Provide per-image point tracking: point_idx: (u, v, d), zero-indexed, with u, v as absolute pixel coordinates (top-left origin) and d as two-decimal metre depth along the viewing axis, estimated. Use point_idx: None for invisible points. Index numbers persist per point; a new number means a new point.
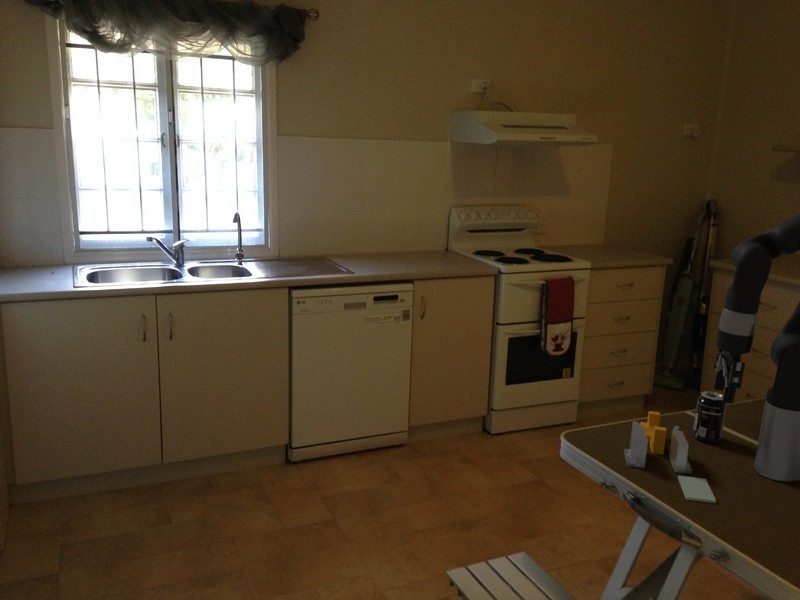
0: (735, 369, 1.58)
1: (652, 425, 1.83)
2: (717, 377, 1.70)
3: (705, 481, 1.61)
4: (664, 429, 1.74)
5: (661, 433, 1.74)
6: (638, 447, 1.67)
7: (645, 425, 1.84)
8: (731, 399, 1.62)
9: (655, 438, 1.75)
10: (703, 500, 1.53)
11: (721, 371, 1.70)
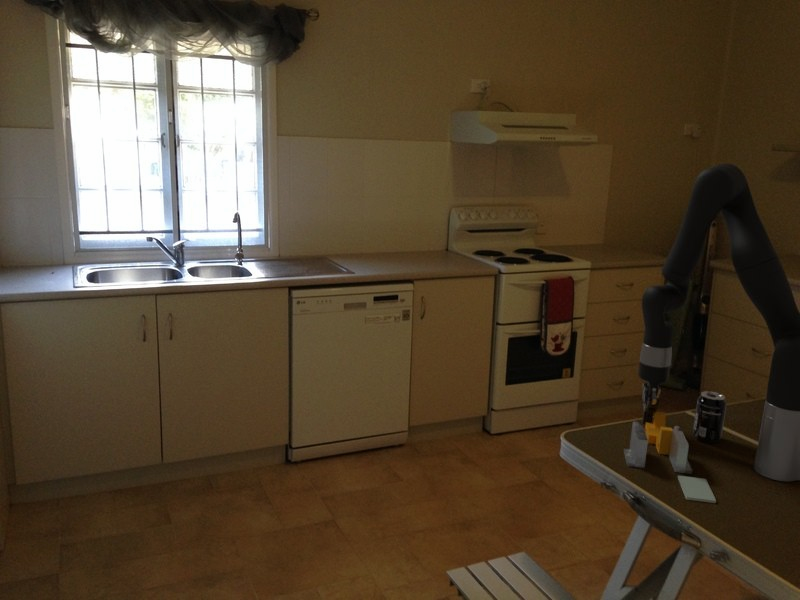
0: (651, 404, 1.81)
1: (658, 426, 1.83)
2: None
3: (705, 481, 1.61)
4: (670, 429, 1.74)
5: (667, 433, 1.74)
6: (638, 447, 1.67)
7: (651, 426, 1.84)
8: (649, 421, 1.87)
9: (661, 438, 1.75)
10: (703, 500, 1.53)
11: None
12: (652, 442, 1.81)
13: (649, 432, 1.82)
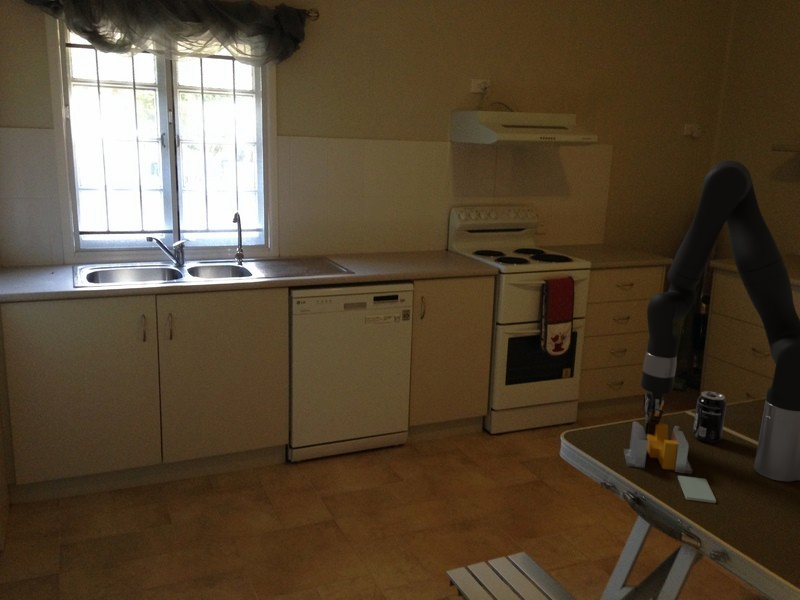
0: (653, 415, 1.74)
1: (660, 438, 1.75)
2: None
3: (705, 481, 1.61)
4: (675, 442, 1.67)
5: (671, 447, 1.66)
6: (638, 447, 1.67)
7: (653, 438, 1.77)
8: (651, 433, 1.79)
9: (665, 452, 1.67)
10: (703, 500, 1.53)
11: None
12: (655, 455, 1.73)
13: (651, 445, 1.74)
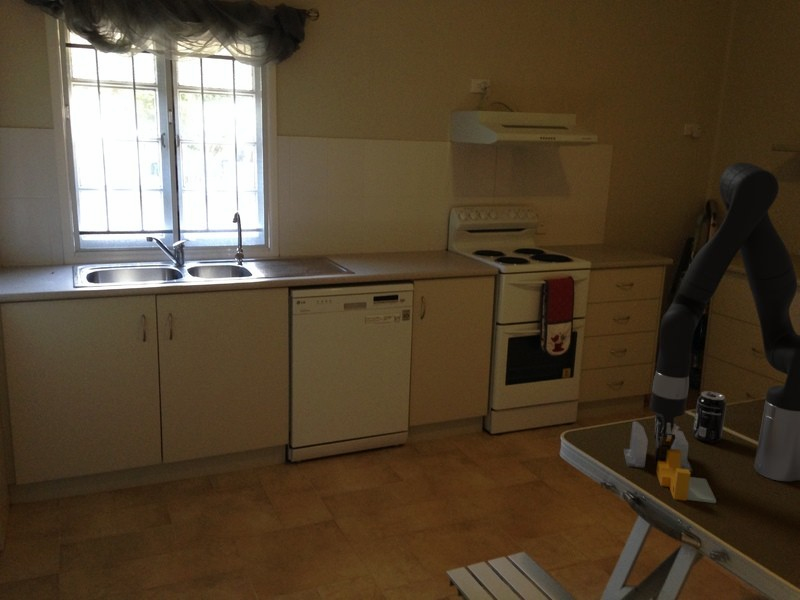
0: (665, 440, 1.60)
1: (672, 465, 1.62)
2: None
3: (705, 481, 1.61)
4: (687, 472, 1.53)
5: (684, 476, 1.52)
6: (638, 447, 1.67)
7: (664, 465, 1.63)
8: (663, 459, 1.65)
9: (677, 482, 1.53)
10: (703, 500, 1.53)
11: None
12: (666, 484, 1.59)
13: (662, 473, 1.60)
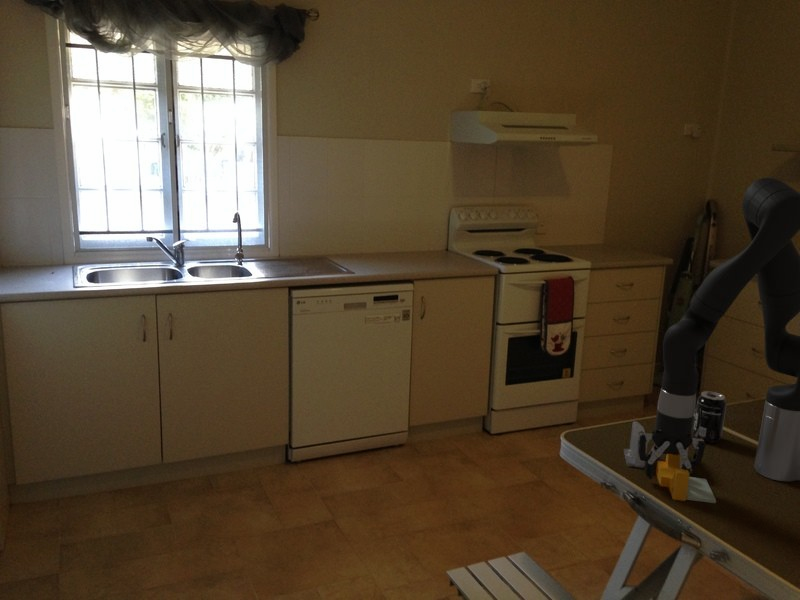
0: None
1: (672, 466, 1.61)
2: None
3: (705, 481, 1.61)
4: (687, 472, 1.53)
5: (683, 477, 1.52)
6: None
7: (664, 465, 1.63)
8: (645, 473, 1.60)
9: (676, 482, 1.53)
10: (703, 500, 1.53)
11: None
12: (665, 485, 1.59)
13: (662, 473, 1.60)
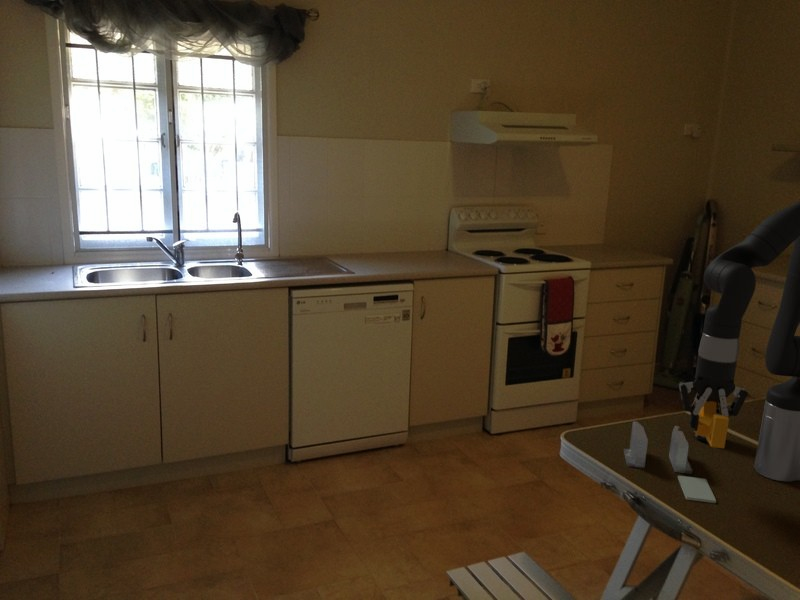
0: (680, 390, 1.54)
1: (707, 414, 1.56)
2: None
3: (705, 481, 1.61)
4: (726, 417, 1.47)
5: (722, 422, 1.47)
6: (638, 447, 1.67)
7: (699, 414, 1.57)
8: (690, 424, 1.54)
9: (715, 428, 1.47)
10: (703, 500, 1.53)
11: (721, 411, 1.53)
12: (701, 433, 1.54)
13: None
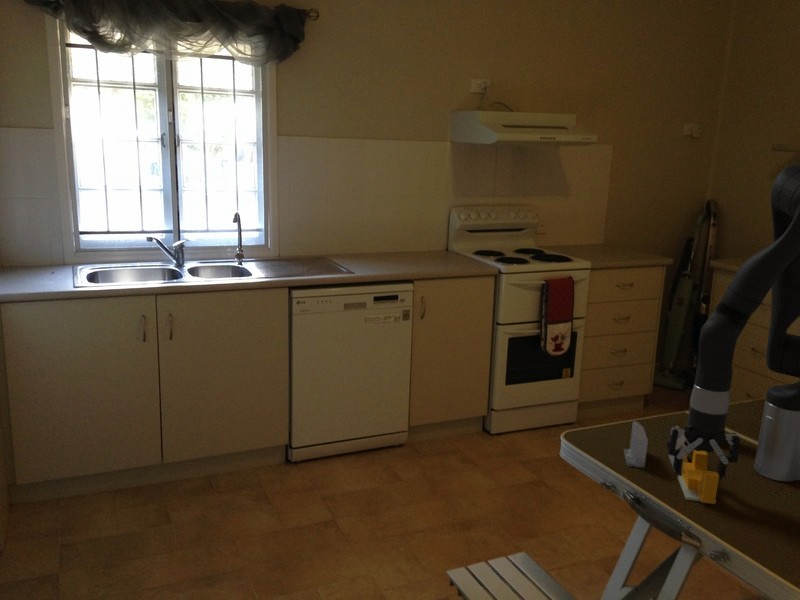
0: (670, 433, 1.57)
1: (699, 467, 1.59)
2: (718, 462, 1.57)
3: None
4: (716, 474, 1.51)
5: (712, 478, 1.50)
6: (638, 447, 1.67)
7: (690, 467, 1.60)
8: (674, 468, 1.58)
9: (705, 484, 1.51)
10: None
11: None
12: (693, 487, 1.57)
13: (689, 475, 1.58)
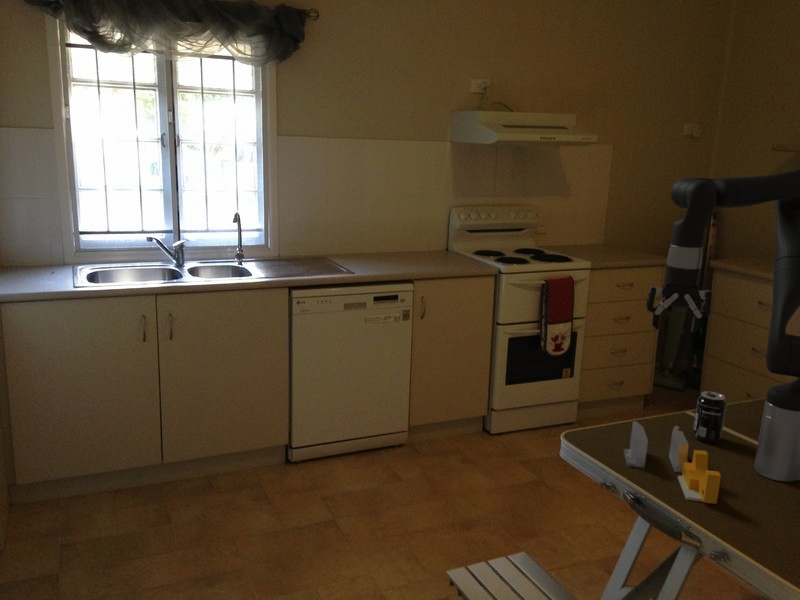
0: (649, 292, 1.72)
1: (699, 467, 1.59)
2: None
3: None
4: (718, 474, 1.51)
5: (714, 478, 1.50)
6: (638, 447, 1.67)
7: (691, 467, 1.60)
8: (652, 324, 1.73)
9: (707, 484, 1.51)
10: None
11: None
12: (694, 487, 1.57)
13: (690, 475, 1.58)
